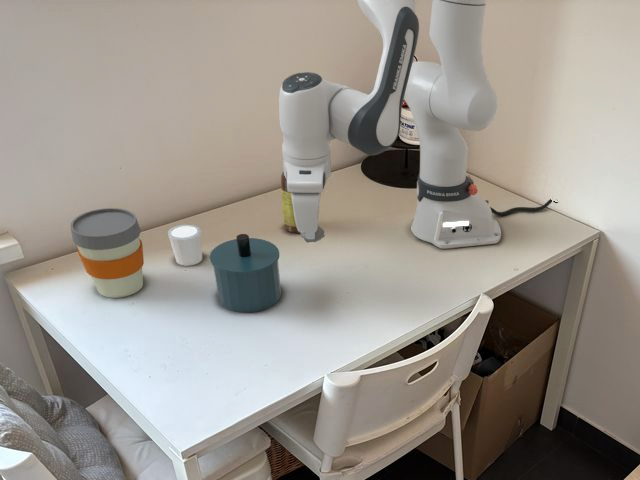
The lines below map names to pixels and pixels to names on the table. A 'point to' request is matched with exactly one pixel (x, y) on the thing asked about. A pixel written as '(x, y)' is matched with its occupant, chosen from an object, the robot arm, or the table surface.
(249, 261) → the pot lid
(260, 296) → the pot
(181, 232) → the white cylinder
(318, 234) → the figurine
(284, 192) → the sauce bottle
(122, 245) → the reusable coffee cup
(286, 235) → the table surface
